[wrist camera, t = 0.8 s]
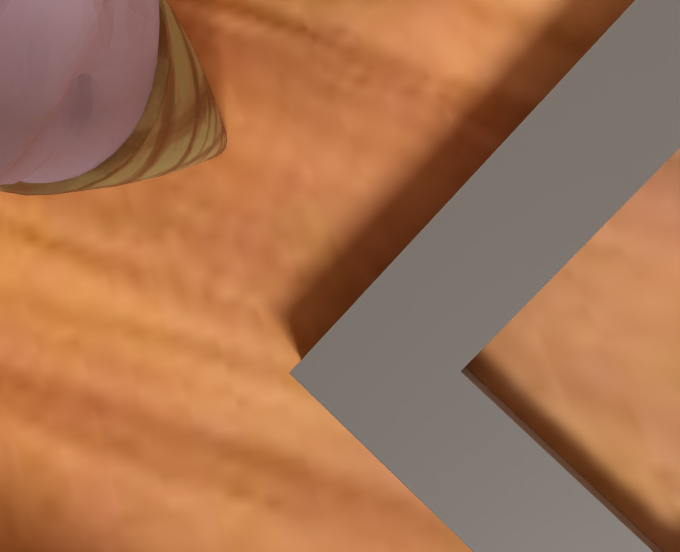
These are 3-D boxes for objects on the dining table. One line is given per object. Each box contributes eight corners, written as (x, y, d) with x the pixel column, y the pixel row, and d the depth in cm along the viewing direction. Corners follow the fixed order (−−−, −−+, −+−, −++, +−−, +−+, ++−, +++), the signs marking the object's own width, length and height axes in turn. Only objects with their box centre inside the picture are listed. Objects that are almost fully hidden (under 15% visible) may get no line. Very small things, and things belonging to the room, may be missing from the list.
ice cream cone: (125, 230, 24) (-390, 191, 9) (109, 67, 24) (-443, -243, 9) (295, 211, 23) (23, 131, 8) (278, 39, 23) (-29, -363, 8)
